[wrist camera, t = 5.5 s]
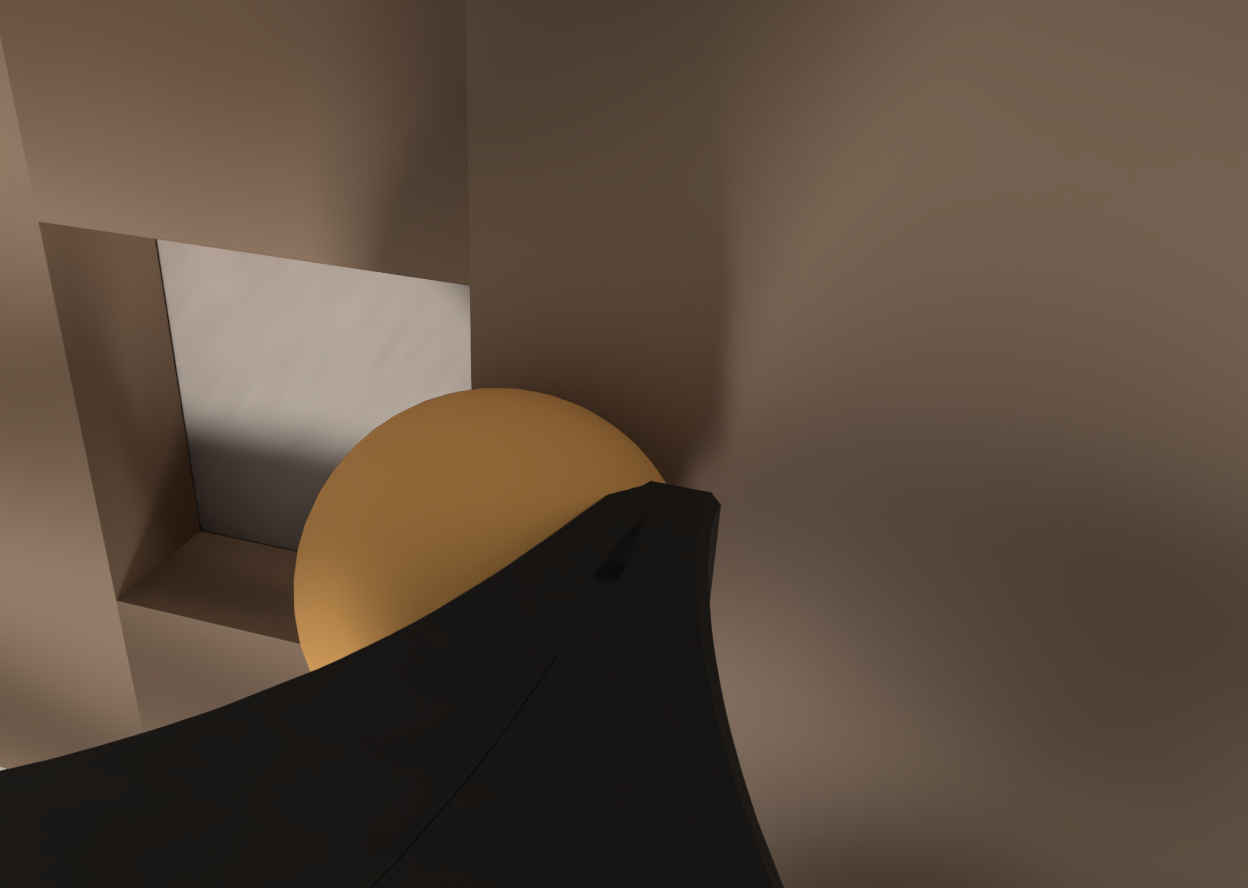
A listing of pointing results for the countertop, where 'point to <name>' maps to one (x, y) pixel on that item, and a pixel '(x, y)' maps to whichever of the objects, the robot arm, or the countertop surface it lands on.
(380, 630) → the ball
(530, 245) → the board
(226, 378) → the countertop surface
